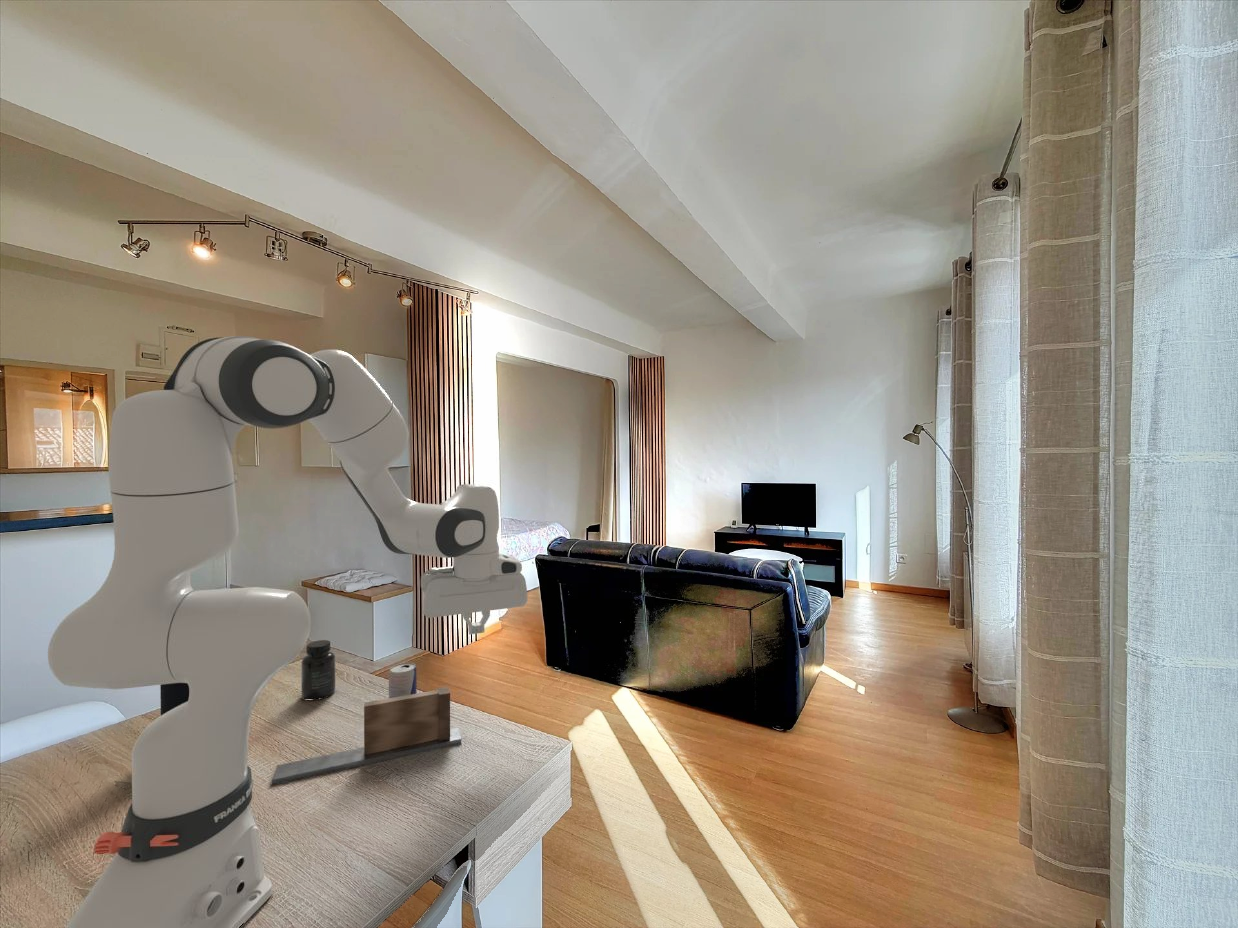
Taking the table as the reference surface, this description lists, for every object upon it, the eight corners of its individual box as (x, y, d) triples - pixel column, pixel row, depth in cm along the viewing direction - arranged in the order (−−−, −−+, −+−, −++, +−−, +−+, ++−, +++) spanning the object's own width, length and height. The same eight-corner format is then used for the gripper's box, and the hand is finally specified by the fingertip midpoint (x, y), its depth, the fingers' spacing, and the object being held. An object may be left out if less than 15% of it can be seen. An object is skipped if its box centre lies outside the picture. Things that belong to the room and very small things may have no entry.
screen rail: (458, 731, 102) (458, 727, 102) (461, 743, 98) (461, 738, 98) (277, 770, 89) (277, 765, 89) (271, 784, 85) (271, 779, 85)
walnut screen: (448, 730, 100) (448, 686, 100) (450, 738, 98) (450, 692, 97) (364, 748, 94) (364, 700, 94) (363, 757, 91) (363, 708, 91)
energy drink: (421, 718, 107) (421, 662, 107) (408, 732, 102) (408, 673, 101) (397, 717, 107) (397, 661, 107) (383, 730, 102) (383, 672, 102)
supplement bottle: (302, 691, 119) (302, 641, 119) (335, 685, 122) (335, 636, 122) (300, 703, 113) (299, 651, 113) (335, 697, 116) (334, 645, 116)
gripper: (421, 573, 93) (421, 646, 94) (529, 563, 102) (529, 630, 102) (420, 565, 99) (420, 634, 99) (522, 557, 107) (522, 621, 108)
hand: (476, 632), depth 101 cm, fingers closed
